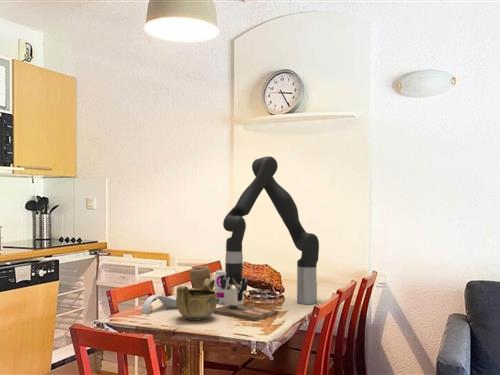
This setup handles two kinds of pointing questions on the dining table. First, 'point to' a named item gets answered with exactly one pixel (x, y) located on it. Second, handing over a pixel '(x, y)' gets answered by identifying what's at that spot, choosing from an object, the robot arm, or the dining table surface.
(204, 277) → the stone cup
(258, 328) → the dining table surface
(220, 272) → the supplement can
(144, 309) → the grey sandal
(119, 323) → the dining table surface
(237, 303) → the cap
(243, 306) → the post board
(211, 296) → the ceramic bowl
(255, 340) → the dining table surface
